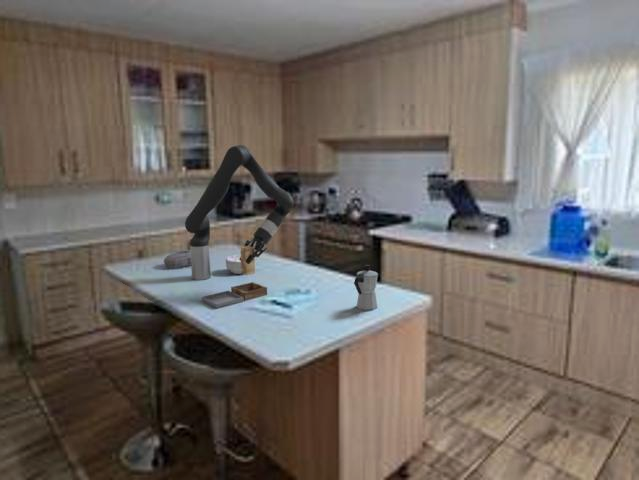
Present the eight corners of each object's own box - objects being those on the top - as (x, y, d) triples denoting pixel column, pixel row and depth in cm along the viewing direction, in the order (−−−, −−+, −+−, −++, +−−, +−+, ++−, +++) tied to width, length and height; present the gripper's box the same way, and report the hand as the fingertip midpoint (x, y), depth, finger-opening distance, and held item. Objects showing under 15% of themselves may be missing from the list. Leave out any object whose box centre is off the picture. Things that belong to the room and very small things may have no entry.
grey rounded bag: (192, 260, 270) (159, 266, 257) (191, 246, 269) (158, 252, 255) (204, 265, 259) (171, 271, 246) (203, 250, 258) (170, 256, 244)
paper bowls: (252, 275, 236) (251, 260, 234) (223, 275, 236) (222, 261, 235) (257, 268, 251) (256, 254, 249) (229, 268, 251) (229, 254, 249)
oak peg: (241, 273, 203) (240, 247, 201) (249, 271, 206) (248, 245, 204) (246, 275, 200) (245, 248, 198) (255, 273, 203) (254, 247, 200)
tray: (202, 301, 197) (201, 296, 196) (228, 294, 205) (228, 290, 205) (216, 308, 187) (216, 304, 187) (243, 301, 196) (243, 297, 195)
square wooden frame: (231, 294, 205) (231, 287, 205) (253, 289, 213) (252, 282, 212) (245, 300, 197) (244, 292, 196) (267, 294, 204) (266, 287, 204)
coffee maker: (366, 300, 195) (366, 260, 191) (384, 305, 190) (384, 263, 186) (346, 310, 184) (346, 267, 180) (364, 315, 178) (364, 271, 175)
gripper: (251, 224, 209) (230, 254, 204) (269, 228, 198) (247, 260, 193) (261, 234, 213) (240, 263, 208) (279, 238, 203) (258, 269, 198)
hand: (244, 261), depth 201 cm, fingers closed on oak peg, 4 cm apart
